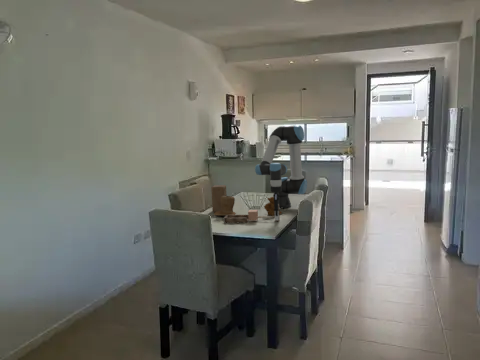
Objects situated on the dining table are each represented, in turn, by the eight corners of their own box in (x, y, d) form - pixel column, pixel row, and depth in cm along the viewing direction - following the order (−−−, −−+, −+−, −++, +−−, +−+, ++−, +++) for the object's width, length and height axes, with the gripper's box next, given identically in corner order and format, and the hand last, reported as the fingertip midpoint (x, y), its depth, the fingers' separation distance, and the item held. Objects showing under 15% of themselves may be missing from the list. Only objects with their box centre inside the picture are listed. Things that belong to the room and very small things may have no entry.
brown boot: (237, 213, 302) (236, 194, 300) (233, 217, 291) (232, 197, 289) (218, 213, 306) (217, 194, 304) (213, 217, 295) (212, 197, 293)
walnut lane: (249, 219, 283) (248, 214, 283) (247, 222, 273) (246, 218, 273) (226, 219, 286) (226, 214, 285) (224, 223, 276) (223, 218, 275)
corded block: (279, 219, 278) (279, 203, 276) (279, 221, 272) (278, 205, 270) (249, 219, 281) (248, 204, 280) (248, 221, 275) (247, 206, 274)
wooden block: (224, 212, 311) (223, 186, 308) (212, 212, 313) (210, 186, 310) (227, 209, 320) (226, 184, 318) (215, 209, 322) (214, 184, 320)
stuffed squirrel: (282, 213, 297) (281, 196, 295) (275, 217, 285) (274, 199, 283) (270, 212, 302) (269, 195, 300) (262, 216, 289) (261, 199, 287)
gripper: (271, 183, 281) (272, 216, 284) (269, 188, 264) (270, 222, 267) (282, 183, 280) (283, 216, 283) (280, 187, 262) (281, 222, 266)
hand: (277, 219), depth 275 cm, fingers closed on corded block, 5 cm apart
